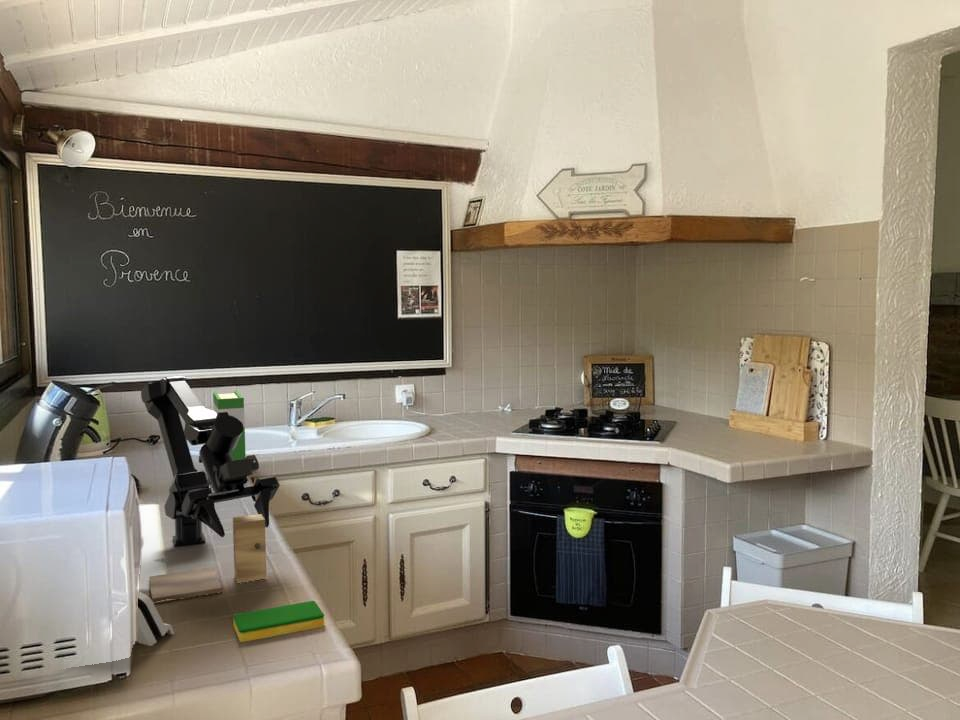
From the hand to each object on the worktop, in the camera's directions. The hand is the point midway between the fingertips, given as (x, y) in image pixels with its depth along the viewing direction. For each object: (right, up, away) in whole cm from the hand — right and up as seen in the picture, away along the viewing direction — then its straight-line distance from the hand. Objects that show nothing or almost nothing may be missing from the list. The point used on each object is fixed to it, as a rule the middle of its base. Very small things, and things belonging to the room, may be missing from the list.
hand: (246, 531), depth 155 cm
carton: (-32, -1, +90) cm, 95 cm away
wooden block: (+1, -9, 0) cm, 9 cm away
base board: (-10, -10, -5) cm, 15 cm away
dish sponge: (+12, -12, -22) cm, 28 cm away
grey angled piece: (-13, -12, -25) cm, 30 cm away
